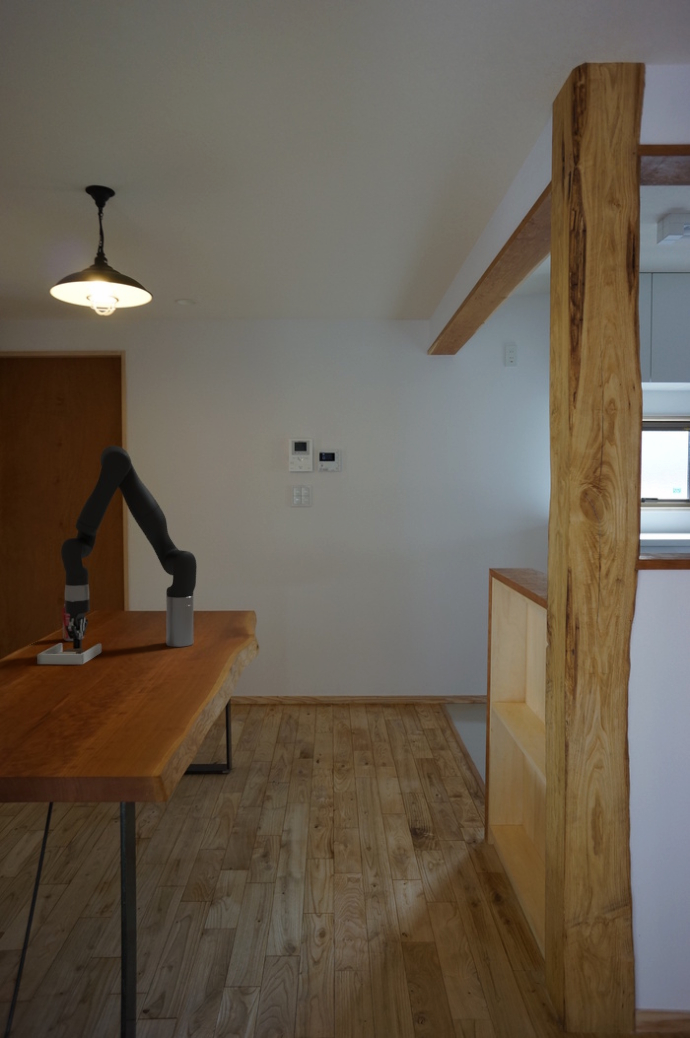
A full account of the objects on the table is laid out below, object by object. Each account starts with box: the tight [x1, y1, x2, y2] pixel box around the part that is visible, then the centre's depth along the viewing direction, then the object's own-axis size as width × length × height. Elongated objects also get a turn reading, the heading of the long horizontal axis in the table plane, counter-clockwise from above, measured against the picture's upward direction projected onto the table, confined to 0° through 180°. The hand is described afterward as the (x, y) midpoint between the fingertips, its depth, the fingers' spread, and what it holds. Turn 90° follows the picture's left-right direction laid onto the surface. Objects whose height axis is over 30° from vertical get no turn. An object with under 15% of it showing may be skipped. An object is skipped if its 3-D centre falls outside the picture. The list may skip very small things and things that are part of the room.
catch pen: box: [36, 642, 102, 665], centre depth 215 cm, size 16×14×3 cm
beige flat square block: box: [62, 648, 84, 654], centre depth 217 cm, size 5×5×2 cm
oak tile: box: [57, 651, 76, 654], centre depth 212 cm, size 5×5×2 cm
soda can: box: [62, 603, 85, 642], centre depth 242 cm, size 7×7×13 cm
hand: (77, 650), depth 221 cm, fingers closed
